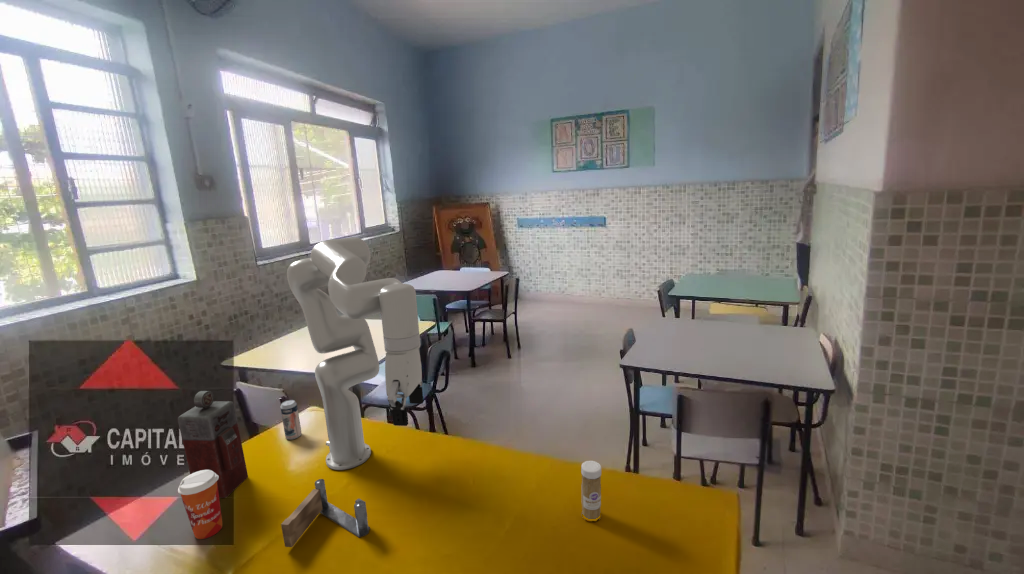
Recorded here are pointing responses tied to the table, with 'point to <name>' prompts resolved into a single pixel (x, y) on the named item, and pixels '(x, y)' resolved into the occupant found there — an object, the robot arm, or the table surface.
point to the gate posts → (342, 518)
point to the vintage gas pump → (214, 441)
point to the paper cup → (202, 503)
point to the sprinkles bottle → (591, 489)
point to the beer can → (290, 419)
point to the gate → (301, 518)
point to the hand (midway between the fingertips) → (409, 413)
